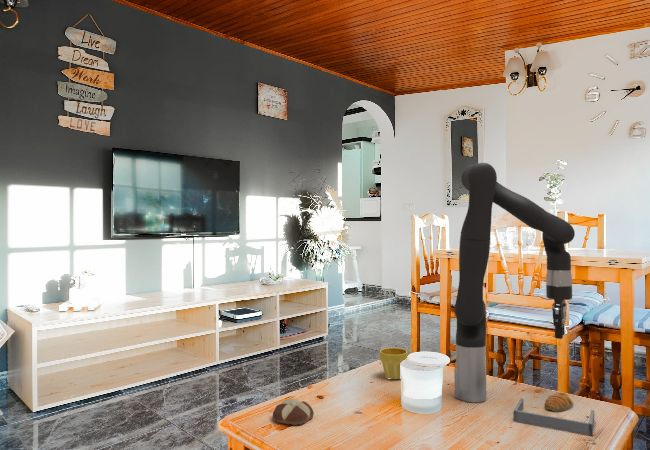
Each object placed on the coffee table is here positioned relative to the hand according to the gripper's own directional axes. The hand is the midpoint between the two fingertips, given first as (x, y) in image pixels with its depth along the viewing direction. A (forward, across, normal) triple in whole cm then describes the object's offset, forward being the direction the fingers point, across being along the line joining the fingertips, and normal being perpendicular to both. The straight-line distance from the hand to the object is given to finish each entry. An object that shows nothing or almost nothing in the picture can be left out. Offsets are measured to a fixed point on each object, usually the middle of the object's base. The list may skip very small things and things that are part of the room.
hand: (559, 336), depth 157 cm
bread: (+20, +57, -65) cm, 89 cm away
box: (+19, +22, 0) cm, 29 cm away
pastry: (+20, +10, 0) cm, 22 cm away
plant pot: (+20, +8, -54) cm, 58 cm away
